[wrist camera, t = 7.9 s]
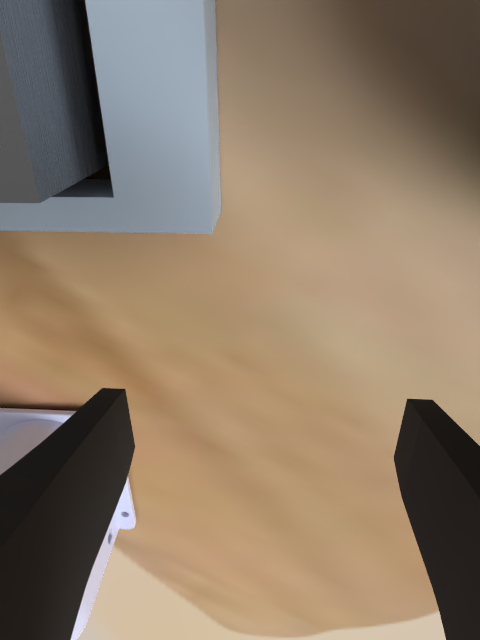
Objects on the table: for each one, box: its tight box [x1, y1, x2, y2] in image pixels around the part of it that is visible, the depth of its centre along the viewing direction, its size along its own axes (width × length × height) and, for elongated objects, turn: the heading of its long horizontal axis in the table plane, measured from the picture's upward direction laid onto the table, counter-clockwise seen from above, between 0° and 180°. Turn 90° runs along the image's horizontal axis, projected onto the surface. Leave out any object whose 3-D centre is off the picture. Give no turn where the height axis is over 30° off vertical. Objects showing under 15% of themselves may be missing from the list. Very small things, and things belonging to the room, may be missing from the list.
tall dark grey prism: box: [0, 0, 109, 203], centre depth 13 cm, size 6×3×7 cm, turn 1°
